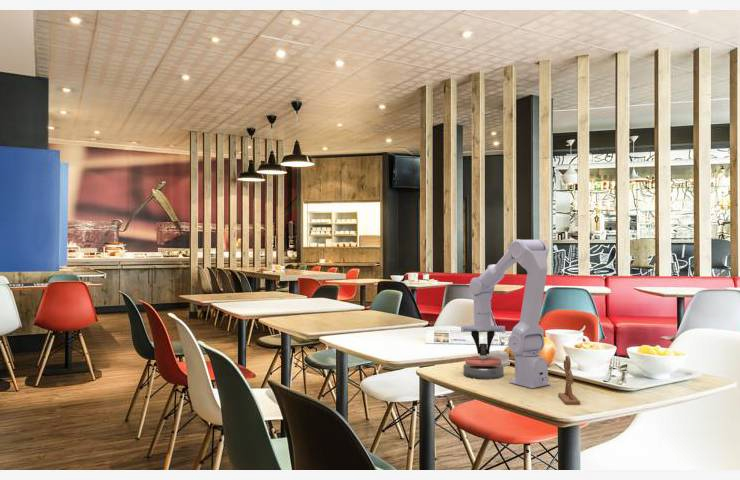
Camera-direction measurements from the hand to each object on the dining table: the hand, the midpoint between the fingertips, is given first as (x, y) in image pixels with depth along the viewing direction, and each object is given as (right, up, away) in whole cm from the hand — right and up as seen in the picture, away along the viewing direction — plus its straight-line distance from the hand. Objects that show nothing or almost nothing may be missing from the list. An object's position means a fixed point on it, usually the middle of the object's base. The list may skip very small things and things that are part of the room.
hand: (483, 353), depth 188 cm
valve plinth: (-1, -6, -5) cm, 8 cm away
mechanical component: (+8, -7, +14) cm, 18 cm away
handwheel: (-1, -3, -4) cm, 5 cm away
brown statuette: (+15, -5, -38) cm, 41 cm away
